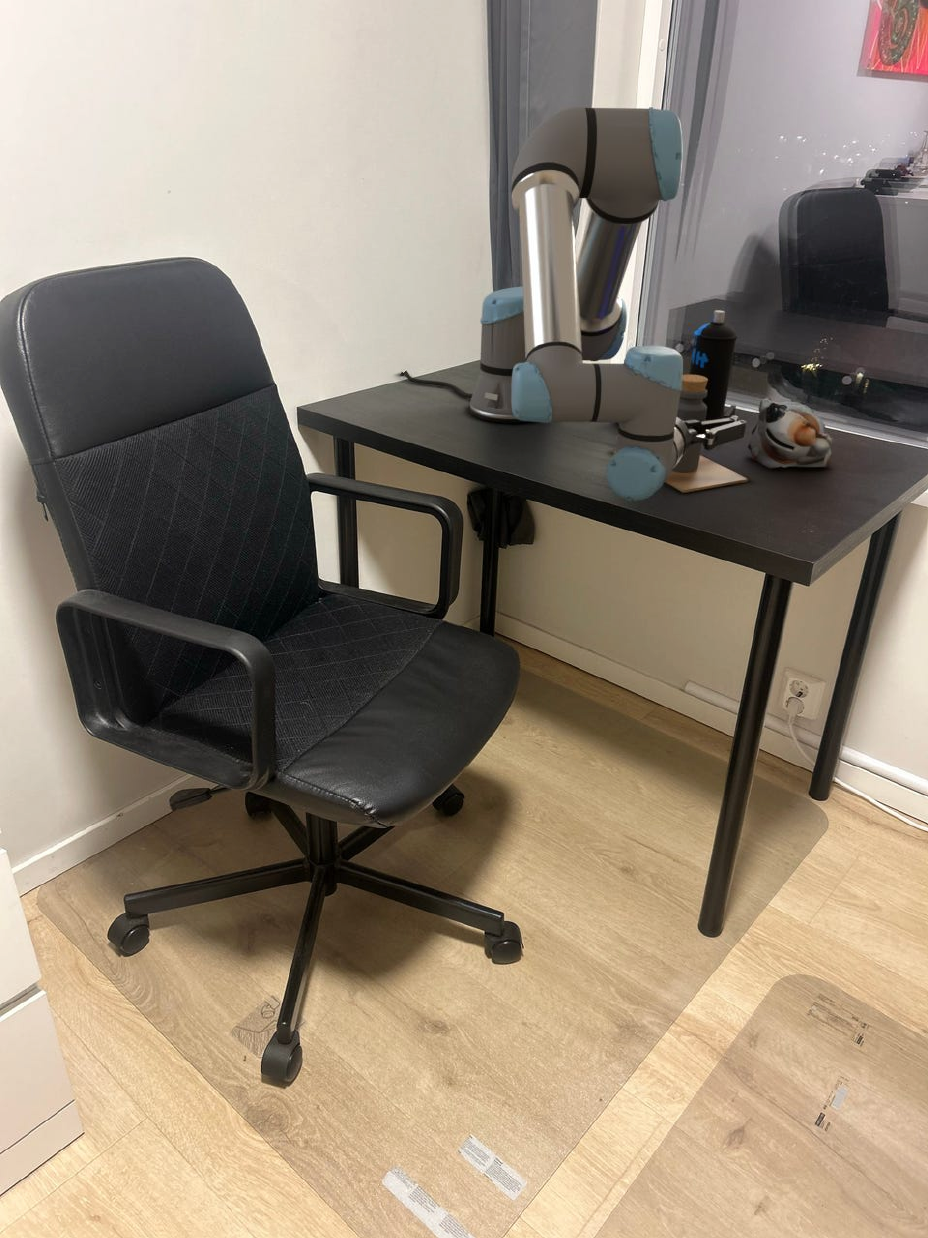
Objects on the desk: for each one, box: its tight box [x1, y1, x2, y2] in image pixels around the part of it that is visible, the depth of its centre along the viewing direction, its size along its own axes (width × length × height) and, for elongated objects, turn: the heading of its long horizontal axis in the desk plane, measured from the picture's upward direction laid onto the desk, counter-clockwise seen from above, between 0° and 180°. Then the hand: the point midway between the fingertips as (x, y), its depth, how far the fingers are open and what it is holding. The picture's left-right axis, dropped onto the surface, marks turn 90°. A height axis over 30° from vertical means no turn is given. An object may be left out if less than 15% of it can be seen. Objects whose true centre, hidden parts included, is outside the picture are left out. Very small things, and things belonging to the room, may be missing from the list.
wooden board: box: [613, 450, 749, 494], centre depth 150 cm, size 20×13×1 cm, turn 25°
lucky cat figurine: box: [747, 397, 834, 470], centre depth 149 cm, size 15×12×14 cm
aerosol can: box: [688, 309, 739, 421], centre depth 172 cm, size 8×8×20 cm
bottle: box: [672, 374, 708, 473], centre depth 145 cm, size 6×6×15 cm
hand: (690, 407), depth 145 cm, fingers open, 13 cm apart
